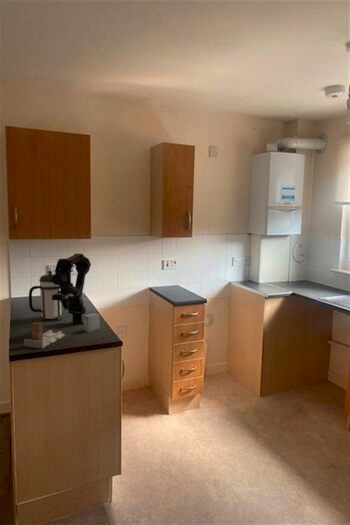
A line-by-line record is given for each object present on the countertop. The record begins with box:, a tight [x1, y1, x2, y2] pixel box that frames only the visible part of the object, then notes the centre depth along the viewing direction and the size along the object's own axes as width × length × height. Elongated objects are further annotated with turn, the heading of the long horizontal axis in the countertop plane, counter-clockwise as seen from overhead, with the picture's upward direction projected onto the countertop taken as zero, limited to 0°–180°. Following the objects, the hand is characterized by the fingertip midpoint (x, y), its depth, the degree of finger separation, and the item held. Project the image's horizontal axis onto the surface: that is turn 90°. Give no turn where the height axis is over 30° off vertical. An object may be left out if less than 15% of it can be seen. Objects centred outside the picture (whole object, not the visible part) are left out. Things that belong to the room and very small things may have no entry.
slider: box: [31, 321, 44, 341], centre depth 186 cm, size 4×4×10 cm
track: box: [23, 329, 65, 349], centre depth 194 cm, size 20×10×4 cm, turn 165°
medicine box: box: [83, 312, 101, 333], centre depth 212 cm, size 8×4×9 cm, turn 141°
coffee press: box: [28, 270, 63, 323], centre depth 231 cm, size 17×16×30 cm
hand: (66, 309), depth 209 cm, fingers closed
